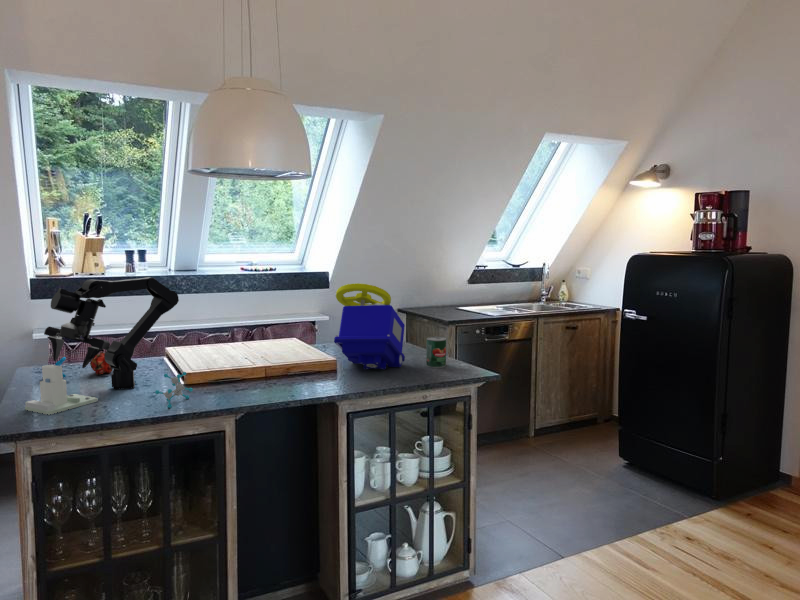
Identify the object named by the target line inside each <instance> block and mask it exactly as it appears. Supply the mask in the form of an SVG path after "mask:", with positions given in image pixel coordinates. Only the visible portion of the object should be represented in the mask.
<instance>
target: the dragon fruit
mask: <svg viewBox="0 0 800 600" xmlns="http://www.w3.org/2000/svg"><path fill="white" fill-rule="evenodd" d="M105 353H106V352H104V351H100V352H99V353H98V354H97V355H96V356H95V357H94V358H93V359H92V360H91V361H90V362H89V365H90V367H91V368H90V369H91V370H92V371H94V372H95V374H96V376H99V375H100V376H101V374H102V375H103V374H104V373H106V374H110V373H113V369H111V367H110V365H109V364H108V363H106V361H105V357H104V355H105Z"/></svg>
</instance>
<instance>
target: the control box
mask: <svg viewBox="0 0 800 600" xmlns="http://www.w3.org/2000/svg"><path fill="white" fill-rule="evenodd" d="M351 292H358V293H356V294H355V295H354V296H353V295H352V296H344V295H345V294H346V293H351ZM371 294H373V295H376V296H378V297H380V298H381V299H382V301H379V300H376V299H373V298H372V295H371ZM335 298H336V300H337V302H339V303H340V305H342V306H343V307H342V312H341V319H340V325H339V331H338V334H337V335H335V336H334V339H333V342H334V344H335V345H336V346H337V347H338V348H339V349H340V350H341V353H342V354H343V355H344V356H345V357H346V358H347V361H348V362H350V363H352V364H355V365H357V364H360V365H363V370H370V369H378V370H383V371H386V368H387V367H388V368H401V367H402V366H403V362H405V358H406V357H405V354H404V352H403V347H404V345H403V344H404V335H405V327H406V326H405V323H404V322H403V320H402V319H401V317H400V316H399V314H398V313H397V312H396V310H395V309H394V307H393V306H392V305H391V303H392V296H391V295H390V294H389V292H388V291H387V290H384V288H381V287H379V286H376V285H373V284H367V283H360V282H358V283H347V284H344V285H341V286H339V287H338V288H337V290H336V291H335Z"/></svg>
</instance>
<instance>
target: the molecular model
mask: <svg viewBox="0 0 800 600" xmlns="http://www.w3.org/2000/svg"><path fill="white" fill-rule="evenodd" d="M186 375H187V372H186V371H182V374H180V373H178V374H177V375H176V376H174V377H171V376H169V375H168V373H164V374H163V377H164V378H168V379H170V380H171V382H172V383H171V385H172V387H175V389H174V390H173V389H171V388H168V389H167V390H166V391H165V392H161V391H160V390H159V389H156V390H155V391H154V392H155V394H156V395H159V394H160V395H163V396H164V398H165V399H166V401H167V408H168V409H171V408H172V406H173V405H172V403H171V400H172V398H174V397H175V396H176V397H178V396H183V397H185V400H189V399H190V396H189V395H185V393H182V391H183V390H186V391H189V393H190V392H193V390H194V389H193V388H192V387H189V388H188V387H185V386H184V384H182V383H181V378H182V377H184V376H186Z"/></svg>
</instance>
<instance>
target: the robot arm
mask: <svg viewBox="0 0 800 600" xmlns="http://www.w3.org/2000/svg"><path fill="white" fill-rule="evenodd" d="M140 290H146V291H147V292H148V293H149V295H150V296H151V297H152V299H151V302H150V307H149V308H148V309H147V310H146V312H145V313H144V314H143V315H142V316H141V317H140V319H139V320H138V321H137V322H136V323H135V325H134V326H133V327H132V328H131V330H130V331H128V333H127V334H126V335H125V337H124V338H123V339H122V340H120V341H117V340H113V341H112V342H111V343H110V341H109V340H105V339H103V338H98V337H92V338H91V336H92V335H91V334H90V333H91V331H92V328H93V327H95V324H96V323H94V322H95V318H96V316H97V313H98V309H99V307H100V308H106V307H107V305H106V304H105V303H104V299H101V298H104V297H108V296H111V295H112V294H116V293H122V292H123V293H124V292H131V291H132V292H133V291H140ZM81 298H83V299H85V300H83V299H81ZM93 298H94V299H93ZM179 301H180V299H179V294H178V293H177V292H176V291H174V290H171V289H170V288H169V287H167V286H165V285H164V284H162V283H161V282H160V281H158V280H157V279H156V278H154V277H151V276H146V277H142V278H141V277H140V278H128V279H120V280H106V279H105V280H103V279H91V278H90V279H87V280H85V281H84V282H83V284H82V286H81V287H79V288H78V289H76V290H75V291H73V292H72V291H69V290H67V289H65V288H60V287H59V288H58V290H57V292H55V293H54V295H53V297H51V301H50V308H51V309H52V310H54V311H59V312H62V313H63V312H64V313H67V314H72V313H74V312H75V314H74V317H72V318H71V319H70V321H69V322H67V323H64V324H61V325H60V328H57V327H53V326H47V327H46V328H45V329H44V332H43V335H45V336H47V339H49V340H50V342H51V345H52V354H53V355H52V356H53V358H52V359H53V362H57V361H58V359H59V356H60V355H61V352H62V348H63V345H64V342H65V339H67V340H68V339H69V340H71V341H77V342H80V343H84V344H88V345H90V346H87V352H86V355H85V358H84V360H83V362H82V366H81V368H82V369H86V367H87V366H88V365H89V364H90V362H91V360H92V359H93V358H94V357H95V356H96V355H97V354H100V352H104V350H105V352H104V353H105V355H104V357H105V361H106V363H108V364H109V365H110V367H111V369H112V373H111V375H110V377H111V387H112V390H113V391H114V390H128V389H129V390H130V389H134V388H135V386H136V382H135V371H136V370H137V366H138V364H137V362H135V361H134V360H133V359H132V358H133V356H134V354H135V350H136V347H137V346H138V344H139V343H140V342H141V340H142V339H144V337H145V336H146V335H147V333H148V332H149V331H150V329H152V328H153V326H154V325H155V324H156V323H157V322H158V321H159V319H160V317H161V316H162V315H164V314H166V313H167V312H170V311H171V310H172V309H173V308H174V307H176V305H177V304H178V303H179ZM63 338H65V339H63Z"/></svg>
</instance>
